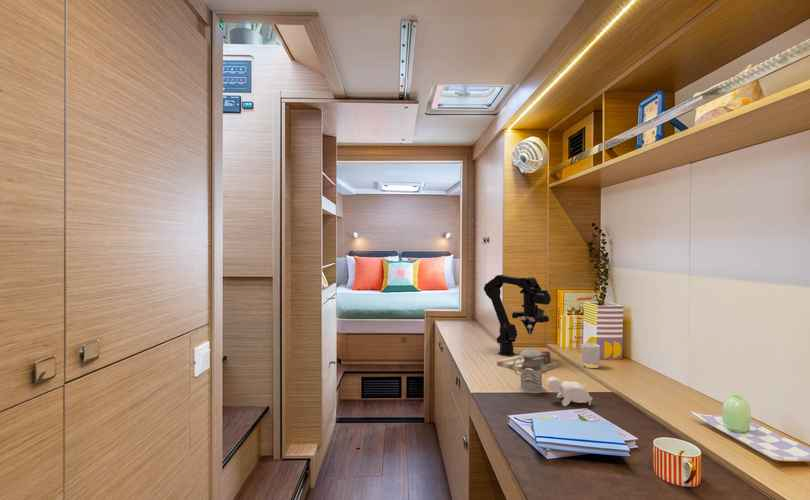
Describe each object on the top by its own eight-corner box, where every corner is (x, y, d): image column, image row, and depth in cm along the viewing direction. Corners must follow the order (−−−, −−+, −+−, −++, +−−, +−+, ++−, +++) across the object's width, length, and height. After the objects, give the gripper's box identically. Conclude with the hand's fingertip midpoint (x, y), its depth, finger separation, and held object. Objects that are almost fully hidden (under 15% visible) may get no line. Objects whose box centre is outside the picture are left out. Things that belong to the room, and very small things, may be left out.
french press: (547, 393, 147) (544, 327, 148) (515, 392, 150) (512, 326, 150) (543, 385, 157) (541, 322, 157) (513, 384, 159) (511, 322, 160)
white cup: (578, 365, 182) (577, 344, 183) (590, 363, 186) (589, 342, 186) (592, 370, 175) (591, 347, 175) (604, 367, 179) (603, 345, 179)
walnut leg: (545, 359, 185) (545, 351, 186) (552, 361, 183) (551, 352, 183) (523, 365, 176) (523, 356, 176) (530, 367, 173) (530, 358, 174)
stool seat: (496, 364, 187) (496, 352, 187) (521, 358, 197) (521, 346, 197) (531, 374, 171) (531, 361, 171) (556, 367, 181) (556, 354, 181)
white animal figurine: (580, 406, 142) (540, 390, 144) (588, 384, 142) (548, 368, 144) (588, 415, 134) (545, 398, 136) (596, 392, 134) (553, 376, 136)
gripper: (556, 303, 191) (556, 335, 191) (526, 299, 207) (526, 329, 206) (540, 305, 185) (541, 338, 185) (510, 301, 201) (511, 331, 201)
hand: (530, 334), depth 194 cm, fingers closed
